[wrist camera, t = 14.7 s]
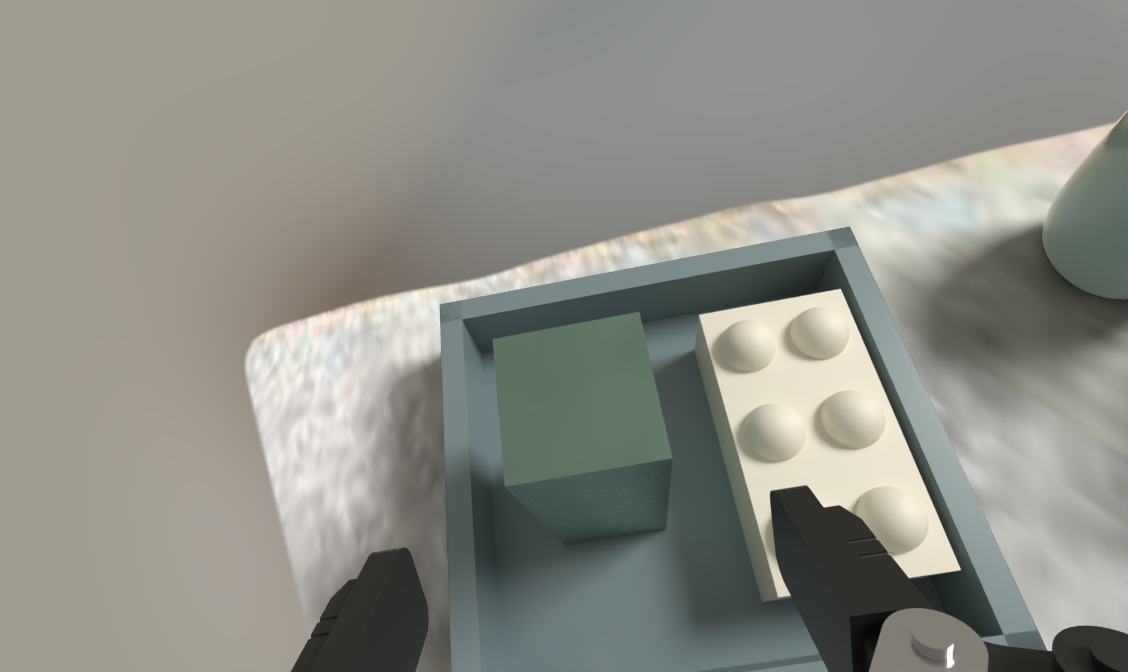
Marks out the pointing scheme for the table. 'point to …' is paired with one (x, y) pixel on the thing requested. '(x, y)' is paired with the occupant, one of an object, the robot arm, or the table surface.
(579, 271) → the table surface
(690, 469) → the tray
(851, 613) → the robot arm
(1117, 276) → the cup
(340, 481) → the table surface
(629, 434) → the tea tin
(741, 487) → the egg carton
